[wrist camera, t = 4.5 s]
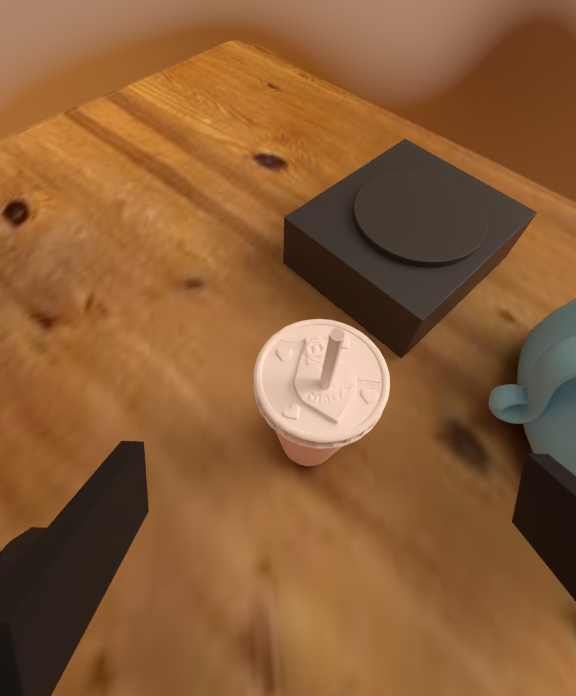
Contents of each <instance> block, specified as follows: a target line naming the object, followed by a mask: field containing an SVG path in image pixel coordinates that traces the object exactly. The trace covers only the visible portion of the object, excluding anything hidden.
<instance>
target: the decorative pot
mask: <svg viewBox="0 0 576 696" xmlns="http://www.w3.org/2000/svg"><path fill="white" fill-rule="evenodd" d="M489 408H490V410H491V411H492V413H493V414H494V415H495V416H496V417H497V418H499V419H501V420H503V421H505V422H509V423H514V424H523V426H524V429H525V433H526V436H527V438H528V441H529V444H530V446H531V449H532V451H533V453H536V454H549V455H550V456H552V457H553V458H554V459H555V460H557V461H558V462H559V463H560V464H561V465H563V466H564V467H565V468H566V469H568V470H569V471H570V472H571V473H573V474H574V475H575V476H576V299H575V300H573V301H571V302H569V303H568V304H566V305H564V306H562V307H561V308H559V309H557V310H556V311H554V312H553V313H551V314H550V315H548V316H547V317H546V318H544V319H543V320H542V321H541V322H540V323H539V324H538V325H537V326H536V327H534V328H533V329H532V330H531V331H530V333H529V335H528V337H527V338H526V340H525V342H524V344H523V347H522V351H521V354H520V358H519V364H518V377H517V385H516V384H507V385H501V386H498V387H496V388H494V389H493V390H492V392H491V394H490V397H489Z"/></svg>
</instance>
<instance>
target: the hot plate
mask: <svg viewBox="0 0 576 696" xmlns="http://www.w3.org/2000/svg"><path fill="white" fill-rule="evenodd" d="M536 214H537V212H535V211H533V210H532V209H530V208H528V207H526V206H524V205H523V204H521V203H519V202H517V201H515V200H514V199H512V198H510V197H508V196H507V195H505V194H503V193H501V192H499V191H498V190H496V189H494V188H492V187H490V186H489V185H487V184H485V183H483V182H482V181H480V180H478V179H476V178H474V177H473V176H471V175H469V174H467V173H465V172H464V171H462V170H460V169H458V168H456V167H455V166H453V165H451V164H449V163H448V162H446V161H444V160H442V159H440V158H439V157H437V156H435V155H433V154H431V153H430V152H428V151H426V150H424V149H422V148H421V147H419V146H417V145H415V144H414V143H412V142H410V141H408V140H406V139H404V140H403V141H401V142H400V143H398V144H396V145H395V146H393V147H392V148H390V149H389V150H387V151H386V152H384V153H383V154H381V155H380V156H378V157H376V158H375V159H373V160H372V161H368V162H367V163H365V164H364V165H363V167H361V168H360V169H358V170H356V171H355V172H353V173H352V174H350V175H349V176H347V177H346V178H344V179H343V180H341V181H340V182H338V183H336V184H335V185H333V186H332V187H330V188H329V189H327V190H326V191H324V192H323V193H321V194H320V195H318V196H316V197H315V198H313V199H312V200H310V201H309V202H307V203H306V204H304V205H303V206H301V207H300V208H298V209H296V210H295V211H293V212H292V213H290V214H289V215H287V216H286V217H284V263H285V264H286V265H288V266H289V267H290V268H291V269H292V270H294V271H295V272H296V273H297V274H299V275H300V276H301V277H302V278H304V279H305V280H306V281H307V282H309V283H310V284H311V285H312V286H314V287H315V288H316V289H317V290H319V291H320V292H321V293H322V294H323V295H325V296H326V297H327V298H328V299H330V300H331V301H332V302H333V303H335V304H336V305H337V306H338V307H340V308H341V309H342V310H343V311H345V312H346V313H347V314H348V315H349V316H351V317H352V318H353V319H354V320H356V321H357V322H358V323H359V324H361V325H362V326H363V327H364V328H366V329H367V330H368V331H369V332H371V333H372V334H373V335H374V336H375V337H377V338H378V339H379V340H380V341H382V342H383V343H384V344H385V345H387V346H388V347H389V348H390V349H392V350H393V351H394V352H395V353H397V354H398V355H399V356H400V357H403V356H404V355H405V354H406V353H407V352H408V351H409V350H410V349H411V348H413V347H414V346H415V345H416V344H417V343H418V342H419V341H420V340H421V339H422V338H423V337H424V336H425V335H426V334H427V333H428V332H429V331H430V330H431V329H432V328H433V327H434V326H435V325H436V324H437V323H438V322H439V321H440V320H441V319H442V318H443V317H444V316H445V315H446V314H448V313H449V312H450V311H451V310H452V309H453V308H454V307H455V306H456V305H457V304H458V303H459V302H460V301H461V300H462V299H463V298H464V297H465V296H466V295H467V294H468V293H469V292H470V291H471V290H472V289H473V288H474V287H475V286H476V285H477V284H478V283H479V282H480V281H481V280H483V279H484V278H485V277H486V276H487V275H488V274H489V273H490V272H491V271H492V270H493V269H494V268H495V267H496V266H497V265H498V264H499V263H500V262H501V261H502V260H503V259H504V258H505V257H506V256H507V254H508V253H509V252H510V250H511V249H512V247H513V246H514V245H515V243H516V242H517V240H518V239H519V238H520V236H521V235H522V233H523V232H524V231H525V229H526V228H527V226H528V225H529V223H530V222H531V221H532V219H533V218H534V216H535V215H536Z"/></svg>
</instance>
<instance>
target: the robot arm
mask: <svg viewBox="0 0 576 696" xmlns="http://www.w3.org/2000/svg"><path fill="white" fill-rule="evenodd" d="M148 511H149V509H148V495H147V480H146V466H145V451H144V442H138V441H121V442H120V443H119V444H118V446H117V447H116V448H115V449H114V450H113V451H112V453H111V454H110V455H109V456H108V457H107V458H106V460H105V461H104V462H103V463H102V464H101V465H100V467H99V468H98V469H97V470H96V471H95V473H94V474H93V475H92V476H91V477H90V478H89V480H88V481H87V482H86V483H85V484H84V485H83V487H82V488H81V489H80V490H79V491H78V492H77V494H76V495H75V496H74V497H73V498H72V499H71V501H70V502H69V503H68V504H67V505H66V506H65V508H64V509H63V510H62V511H61V512H60V513H59V515H58V516H57V517H56V518H55V519H54V521H53V522H52V523H51V524H50V525H49V526H48V528H37V527H31V528H30V529H28V530H27V531H25V532H24V533H22V534H21V535H19V536H18V537H16V538H15V539H13V540H12V541H10V542H9V543H8V544H7V545H6V547H5V548H4V549H3V550H2V551H1V552H0V696H51V695H52V693H53V691H54V689H55V687H56V685H57V683H58V682H59V680H60V678H61V676H62V674H63V672H64V670H65V668H66V666H67V665H68V663H69V661H70V659H71V657H72V655H73V653H74V651H75V649H76V647H77V646H78V644H79V642H80V640H81V638H82V636H83V634H84V632H85V630H86V629H87V627H88V625H89V623H90V621H91V619H92V617H93V615H94V613H95V612H96V610H97V608H98V606H99V604H100V602H101V600H102V598H103V596H104V594H105V593H106V591H107V589H108V587H109V585H110V583H111V581H112V579H113V577H114V576H115V574H116V572H117V570H118V568H119V566H120V564H121V562H122V560H123V559H124V557H125V555H126V553H127V551H128V549H129V547H130V545H131V543H132V541H133V540H134V538H135V536H136V534H137V532H138V530H139V528H140V526H141V524H142V523H143V521H144V519H145V517H146V515H147V513H148ZM512 522H513V524H514V525H515V526H516V527H517V529H518V530H519V531H520V532H521V534H522V535H523V536H524V537H525V539H526V540H527V541H528V542H529V544H530V545H531V546H532V547H533V549H534V550H535V551H536V552H537V554H538V555H539V556H540V557H541V559H542V560H543V561H544V562H545V564H546V565H547V566H548V567H549V569H550V570H551V571H552V572H553V574H554V575H555V576H556V577H557V579H558V580H559V581H560V582H561V584H562V585H563V586H564V587H565V588H566V590H567V591H568V592H569V593H570V595H571V596H572V597H573V598H574V600H575V601H576V476H575V475H574V474H573V473H571V472H570V471H569V470H568V469H566V468H565V467H564V466H563V465H561V464H560V463H559V462H558V461H557V460H555V459H554V458H553V457H552V456H550V455H549V454H536V453H526V456H525V461H524V466H523V471H522V476H521V480H520V485H519V490H518V495H517V500H516V505H515V509H514V514H513V519H512Z"/></svg>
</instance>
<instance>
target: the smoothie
mask: <svg viewBox="0 0 576 696" xmlns="http://www.w3.org/2000/svg"><path fill="white" fill-rule="evenodd" d="M253 384H254V397H255V400H256V402H257V405H258V408H259V411H260V413H261V414H262V416H263V417H264V418H265V420H266V421H267V423H268V424H269V425H270V427H271V428H273V429H274V430H275V431H276V434H277V436H278V438H279V440H280V443H281V445H282V447H283V450H284V451H285V453H286V455H287V456H288V457H289V458H290V459H291V460H292V461H294V462H295V463H297V464H300V465H303V466H316V465H319V464H321V463H323V462H325V461H326V460H327V459H328V458H330V457H331V456H332V455H333V454H334V453H335V452H336V451H338V450H339V449H340V448H341V447H342V446H345V445H347V444H350V443H353V442H355V441H357V440H359V439H360V438H361V437H363V436H364V435H365V434H367V433H368V432H369V431H371V430H372V428H373V427H374V425H375V424H376V423H377V421H378V420H379V419H380V417H381V415H382V412H383V410H384V408H385V405H386V403H387V400H388V396H389V391H390V377H389V371H388V367H387V364H386V362H385V360H384V357H383V356H382V354H381V352H380V351H379V349H378V348H377V346H376V345H375V344H374V343H373V342H372V341H371V340H370V339H369V338H368V337H367V336H365V335H364V334H363V333H361V332H360V331H358V330H357V329H355V328H353V327H351V326H349V325H347V324H344V323H341V322H337V321H333V320H326V319H310V320H304V321H300V322H296V323H293V324H291V325H288V326H286V327H285V328H283V329H281V330H280V331H278V332H277V333H275V334H274V335H273V336H272V337H271V338H270V339H269V340H268V341H267V342H266V343H265V345H264V346H263V348H262V349H261V351H260V353H259V355H258V358H257V360H256V364H255V369H254V379H253Z"/></svg>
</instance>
